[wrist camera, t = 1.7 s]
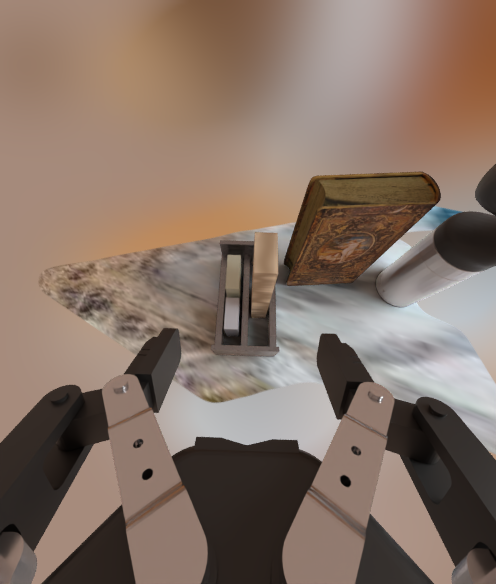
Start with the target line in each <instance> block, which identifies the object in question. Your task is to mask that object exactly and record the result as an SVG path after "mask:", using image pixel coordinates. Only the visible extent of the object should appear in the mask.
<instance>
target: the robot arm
mask: <svg viewBox="0 0 496 584" xmlns="http://www.w3.org/2000/svg"><path fill="white" fill-rule="evenodd" d="M475 198H476V200H477V201H478V202H479V204H480V205H481V206H482V207H483V208H484V209H486V210H487V211H489V212H491V213H492V214H493V215H489V214H485V213H480V212H462V213H458V214H455V215H453V216H451V217H450V218H448V219H447V220H446V221H444V222H443V223H442V224H441V225H439V226H438V227H437V228H436V229H434V230H433V231H432V232H431V233H429V234H428V235H427V236H426V237H425V238H424V239H422V240H421V241H420V242H418V243H417V244H416V245H415V246H413V247H412V248H411V249H410V250H409V251H407V252H406V253H405V254H404V255H402V256H401V257H400V258H399V259H397V260H396V261H395V262H394V263H392V264H391V265H390V266H389V267H387V268H386V269H385V270H384V271H382V272H381V273H380V274H379V275H378V277H377V280H376V288H377V291H378V293H379V295H380V296H381V297H382V298H383V299H384V300H385V301H386V302H388V303H389V304H391V305H394V306H398V307H406V306H409V305H411V304H413V303H416V302H418V301H421V300H423V299H425V298H427V297H429V296H432V295H434V294H436V293H438V292H440V291H442V290H444V289H447V288H449V287H451V286H453V285H455V284H457V283H459V282H461V281H463V280H465V279H467V278H469V277H472V276H474V275H476V274H478V273H480V272H482V271H484V270H487V269H489V268H491V267H493V266H496V164H495V165H494V166H493V167H492V168H491V169H490V170H489V171H488V172H487V173H486V174H485V175H484V177H483V178H482V180H481V181H480V182H479V184H478V186H477V189H476V191H475ZM494 215H495V216H494ZM180 359H181V346H180V337H179V330H178V329H173V328H164V329H163V330H162V331H161V333H160V335H159V336H158V337H153V338H151V339H150V340H148V341H147V342H146V343H145V344H144V346H143V347H142V349H141V350H140V351H139V353H138V354H137V356H136V357H135V359H134V360H133V361H132V363H131V364H130V366H129V367H128V369H127V370H126V372H125V373H124V375H120V376H117V377H115V378H113V379H112V380H110V381H109V382H108V383H106V385H105V386H104V387H103V389H100V390H94V391H90V392H85V393H82V392H81V389H80V388H79V387H78V386H76V385H66V386H62V387H59V388H57V389H55V390H53V391H51V392H49V393H48V394H47V395H45V396H44V397H43V398H42V399H41V400H40V401H39V403H37V405H36V406H35V407H34V408H33V409H32V410H31V411H30V412H29V413H28V414H27V415H26V416H25V417H24V418H23V419H22V421H21V422H20V423H19V424H18V425H17V426H16V427H15V428H14V429H13V430H12V431H11V433H9V435H8V436H7V437H6V438H5V439H4V440H3V441H2V442H1V443H0V584H31V583H32V580H33V578H34V576H35V572H36V568H37V558H36V555H35V553H34V550H35V548H36V546H37V544H38V543H39V541H40V539H41V537H42V536H43V534H44V532H45V530H46V528H47V527H48V525H49V523H50V521H51V520H52V518H53V516H54V514H55V512H56V511H57V509H58V507H59V505H60V504H61V502H62V500H63V498H64V496H65V494H66V493H67V491H68V489H69V487H70V486H71V484H72V482H73V480H74V479H75V477H76V475H77V473H78V471H79V470H80V468H81V466H82V464H83V462H84V461H85V459H86V457H87V455H88V453H89V452H90V450H91V448H92V446H93V445H94V444H95V443H99V442H102V441H106V440H110V444H111V449H112V454H113V459H114V465H115V470H116V475H117V480H118V486H119V490H120V496H121V501H122V505H121V506H120V507H119V508H118V509H117V510H116V511H115V512H114V513H113V514H112V515H111V516H110V517H109V518H108V519H106V520H105V521H104V523H103V524H101V525H100V526H99V527H98V528H97V529H96V530H95V531H94V532H93V533H92V534H91V535H90V536H89V537H88V538H87V539H86V540H85V541H84V542H83V543H82V544H81V545H80V546H79V547H78V548H77V549H76V550H75V551H74V552H73V553H72V554H71V555H70V556H69V557H68V558H67V559H66V560H65V561H64V562H63V563H62V564H61V565H60V566H59V567H58V568H57V569H56V570H55V571H54V572H53V573H52V574H51V575H50V576H49V577H48V578H47V579H46V580H45V581H44V582H43V583H42V584H434V583H433V582H432V581H431V580H430V579H429V578H428V577H427V575H426V574H425V573H424V572H423V571H422V570H421V569H420V568H419V567H418V566H417V564H415V562H414V561H413V560H412V559H411V558H410V557H409V556H408V555H407V554H406V553H405V552H404V550H403V549H402V548H401V547H400V546H399V545H398V544H397V543H396V542H395V540H394V539H393V538H392V537H391V536H390V535H389V534H388V533H387V532H386V531H385V529H384V528H383V527H382V526H381V525H380V524H379V523H378V522H377V521H376V520H375V518H374V517H373V516H372V515H371V514H370V511H371V506H372V502H373V498H374V494H375V489H376V485H377V481H378V477H379V472H380V468H381V464H382V460H383V455H384V451H385V450H388V451H391V452H394V453H397V454H399V455H400V457H401V459H402V461H403V463H404V465H405V467H406V469H407V471H408V473H409V475H410V477H411V479H412V481H413V483H414V485H415V487H416V489H417V491H418V493H419V495H420V497H421V499H422V501H423V503H424V505H425V507H426V509H427V511H428V513H429V515H430V517H431V519H432V521H433V523H434V525H435V527H436V529H437V531H438V533H439V535H440V537H441V539H442V541H443V543H444V545H445V547H446V549H447V551H448V553H449V555H450V557H451V559H452V561H453V563H454V565H455V569H454V570H453V573H452V584H496V460H495V459H494V458H493V456H492V455H491V454H490V453H489V452H488V450H487V449H486V448H485V447H484V446H483V444H482V443H481V442H480V441H479V440H478V439H477V437H476V436H475V435H474V434H473V433H472V431H471V430H470V429H469V428H468V427H467V426H466V424H465V423H464V422H463V421H462V420H461V418H460V417H459V416H458V415H457V414H456V413H455V412H454V410H452V409H451V408H450V407H449V406H448V405H446V404H444V403H443V402H441V401H439V400H436V399H434V398H430V397H421V398H419V399H418V400H417V401H416V404H412V403H408V402H405V401H401V400H398V399H395V398H394V397H393V395H392V394H391V393H390V392H389V391H388V390H387V389H386V388H384V387H383V386H381V385H379V384H376V383H374V381H373V379H372V378H371V376H370V375H369V373H368V372H367V370H366V368H365V367H364V365H363V364H362V363H361V360H360V359H359V358H358V356H357V354H356V353H355V351H354V349H352V348H351V347H350V346H349V345H347V344H346V343H341V341H340V340H339V338H338V336H337V335H336V334H321V336H320V341H319V347H318V352H317V366H318V369H319V372H320V375H321V377H322V380H323V383H324V385H325V388H326V390H327V394H328V396H329V399H330V402H331V404H332V407H333V410H334V412H335V415H336V418H337V419H342V420H341V422H340V424H339V427H338V429H337V431H336V433H335V435H334V437H333V440H332V442H331V444H330V446H329V449H328V450H327V453H326V455H325V457H324V459H323V461H322V462H321V461H320V460H319V459H317V458H316V457H315V456H313V455H311V454H309V453H307V452H305V451H303V450H300V449H299V447H298V441H297V440H273V439H272V440H268V441H264V442H260V443H256V444H251V445H243V444H240V443H237V442H233V441H230V440H226V439H224V438H213V437H196V441H195V446H192V447H189V448H186V449H184V450H182V451H180V452H178V453H176V454H175V455H173V456H172V457H171V455H170V452H169V450H168V447H167V445H166V442H165V440H164V437H163V435H162V433H161V430H160V427H159V425H158V423H157V420H156V418H155V415H154V413H158V412H159V410H160V408H161V405H162V403H163V401H164V398H165V396H166V394H167V391H168V389H169V386H170V384H171V382H172V379H173V377H174V375H175V372H176V370H177V367H178V365H179V363H180Z"/></svg>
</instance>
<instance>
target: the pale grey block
mask: <svg viewBox="0 0 496 584" xmlns="http://www.w3.org/2000/svg"><path fill="white" fill-rule="evenodd" d="M239 323H240V301H239V298H227V297H226V304H225V319H224V331H225V333H226V335H227V336H239Z"/></svg>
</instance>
